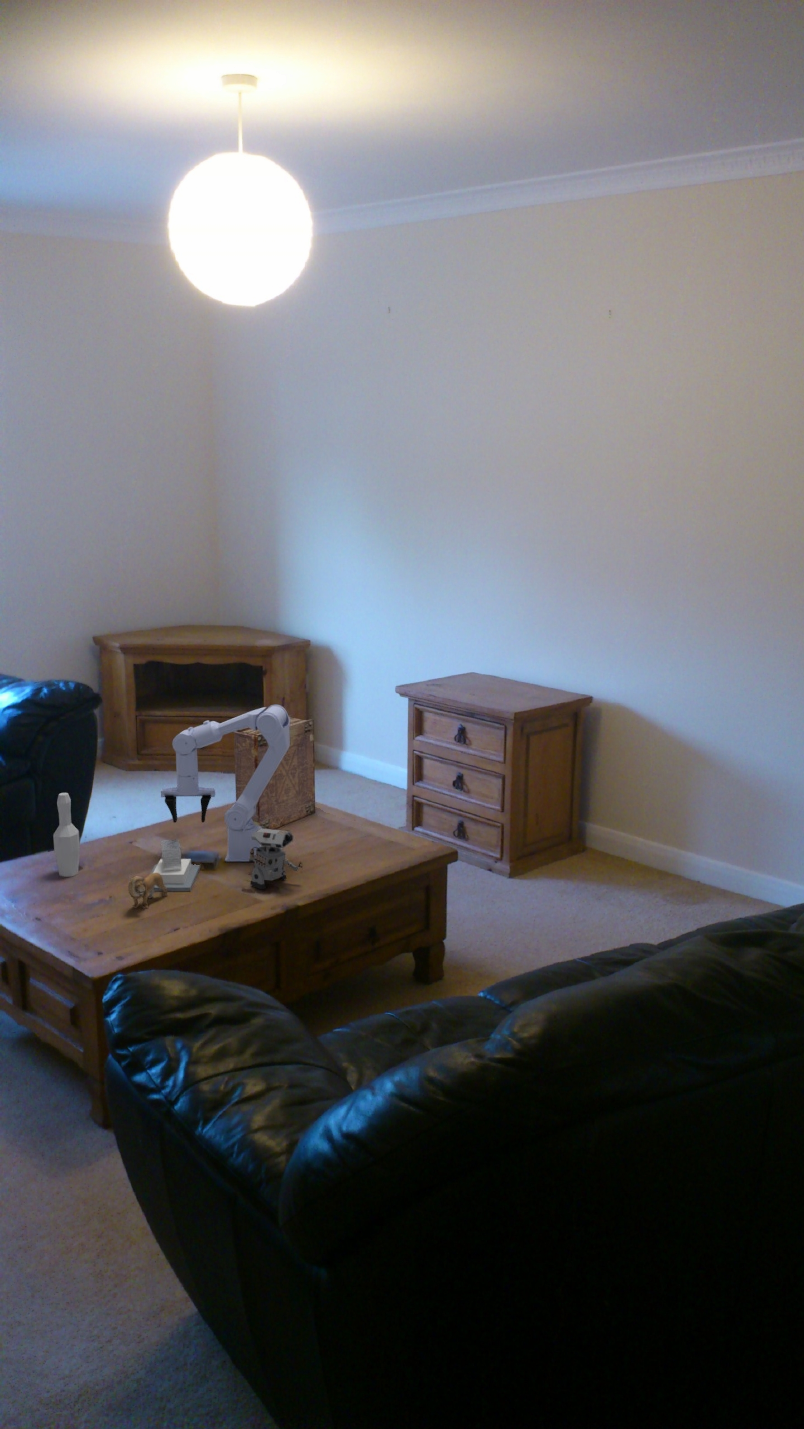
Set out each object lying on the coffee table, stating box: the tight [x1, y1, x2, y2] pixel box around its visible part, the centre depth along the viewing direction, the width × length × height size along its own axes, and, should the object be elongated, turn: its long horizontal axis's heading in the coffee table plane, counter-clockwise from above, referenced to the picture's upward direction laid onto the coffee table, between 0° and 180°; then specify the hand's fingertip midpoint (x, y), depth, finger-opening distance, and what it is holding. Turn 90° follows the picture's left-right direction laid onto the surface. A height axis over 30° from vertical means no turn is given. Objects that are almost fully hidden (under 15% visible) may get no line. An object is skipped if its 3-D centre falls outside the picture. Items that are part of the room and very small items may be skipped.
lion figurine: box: [127, 873, 168, 909], centre depth 270 cm, size 15×5×9 cm, turn 165°
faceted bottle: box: [52, 792, 81, 878], centre depth 287 cm, size 6×6×22 cm
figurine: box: [248, 828, 303, 890], centre depth 281 cm, size 9×12×15 cm
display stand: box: [149, 858, 201, 892], centre depth 285 cm, size 12×16×4 cm
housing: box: [160, 838, 182, 872], centre depth 285 cm, size 4×7×6 cm, turn 16°
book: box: [233, 714, 316, 830], centre depth 327 cm, size 25×9×30 cm, turn 145°
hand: (189, 821), depth 301 cm, fingers open, 7 cm apart
